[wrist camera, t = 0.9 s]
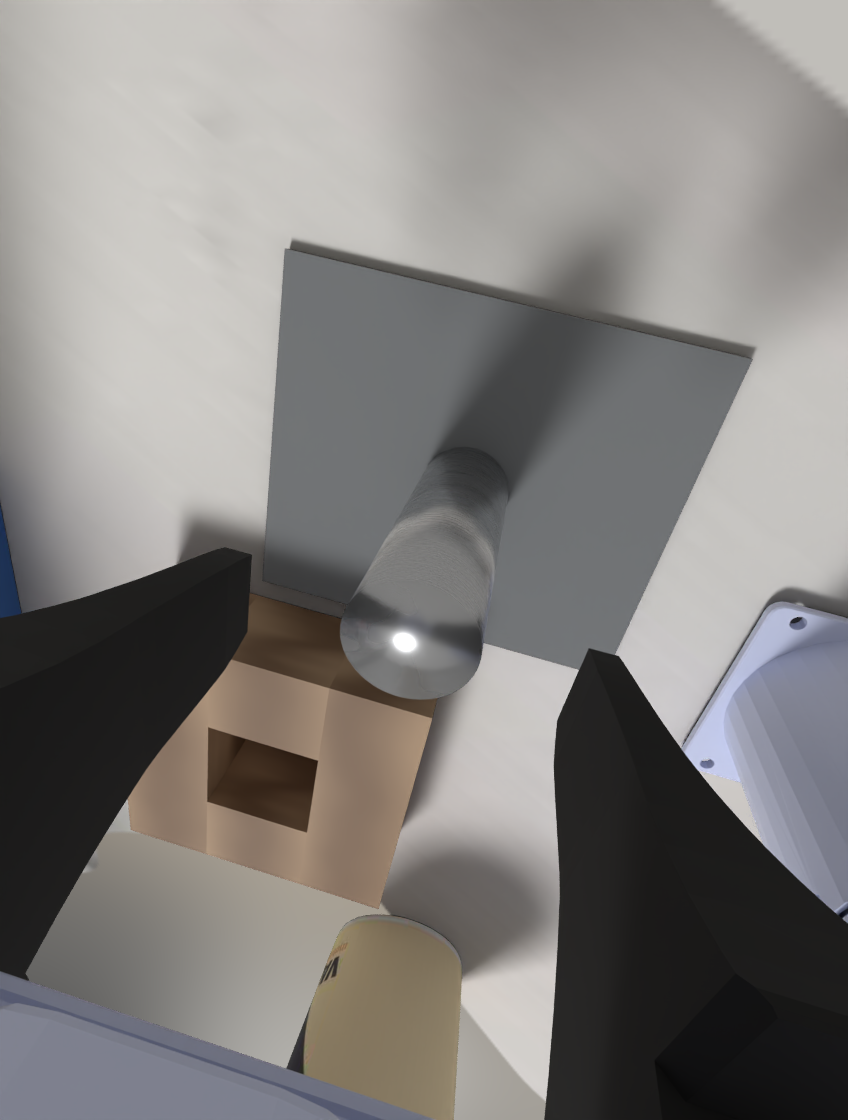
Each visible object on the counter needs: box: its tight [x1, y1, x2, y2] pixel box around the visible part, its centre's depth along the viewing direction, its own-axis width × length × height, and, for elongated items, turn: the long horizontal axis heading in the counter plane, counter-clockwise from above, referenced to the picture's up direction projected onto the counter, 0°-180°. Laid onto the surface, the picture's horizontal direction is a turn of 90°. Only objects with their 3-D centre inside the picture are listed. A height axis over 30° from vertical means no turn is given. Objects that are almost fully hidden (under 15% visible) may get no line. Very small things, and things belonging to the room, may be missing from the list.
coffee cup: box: [286, 915, 462, 1120], centre depth 29 cm, size 9×9×12 cm
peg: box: [340, 447, 509, 700], centre depth 16 cm, size 3×3×9 cm
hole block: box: [128, 593, 437, 909], centre depth 25 cm, size 12×12×4 cm
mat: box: [262, 249, 753, 670], centre depth 20 cm, size 14×12×1 cm
